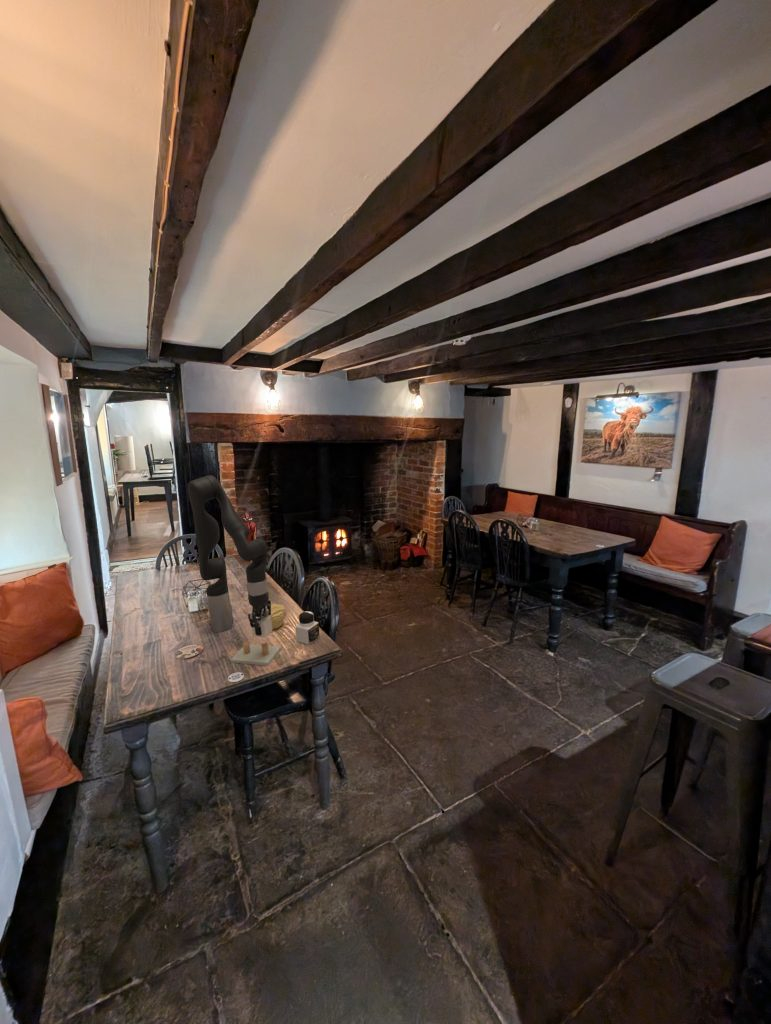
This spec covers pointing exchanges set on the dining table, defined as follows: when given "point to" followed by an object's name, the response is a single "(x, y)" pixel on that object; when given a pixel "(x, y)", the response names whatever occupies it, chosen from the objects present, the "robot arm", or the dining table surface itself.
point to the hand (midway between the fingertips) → (262, 631)
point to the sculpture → (277, 615)
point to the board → (256, 654)
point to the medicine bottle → (307, 628)
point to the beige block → (264, 627)
